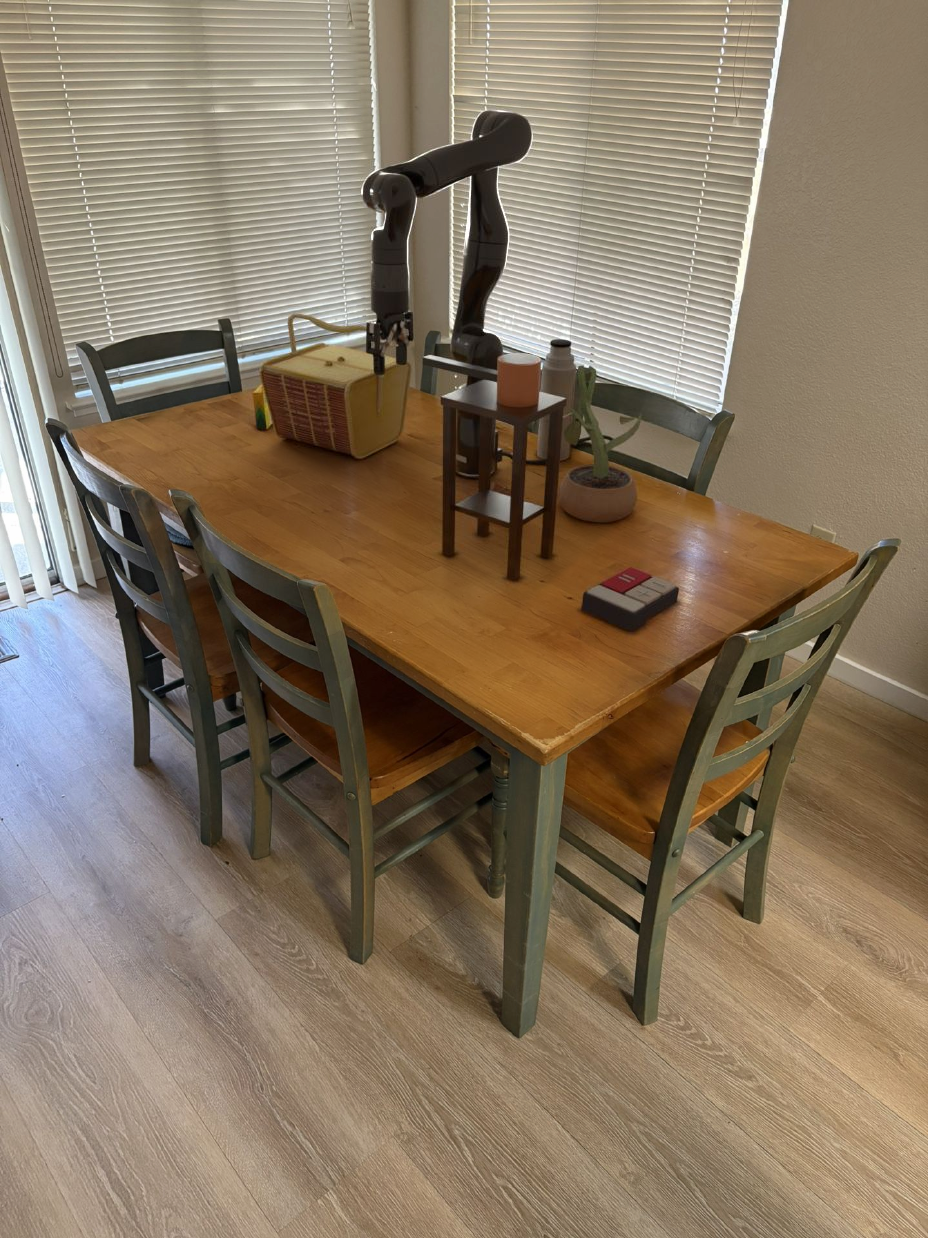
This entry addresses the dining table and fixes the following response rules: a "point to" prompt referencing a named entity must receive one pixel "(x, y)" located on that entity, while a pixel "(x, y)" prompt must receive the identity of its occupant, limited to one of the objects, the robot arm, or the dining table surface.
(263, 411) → the crayon box
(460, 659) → the dining table surface
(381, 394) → the picnic basket
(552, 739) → the dining table surface
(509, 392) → the dipper cup
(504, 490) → the fruit slice
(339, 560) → the dining table surface
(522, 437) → the plant stand
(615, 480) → the potted plant
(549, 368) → the thermos bottle
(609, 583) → the calculator
